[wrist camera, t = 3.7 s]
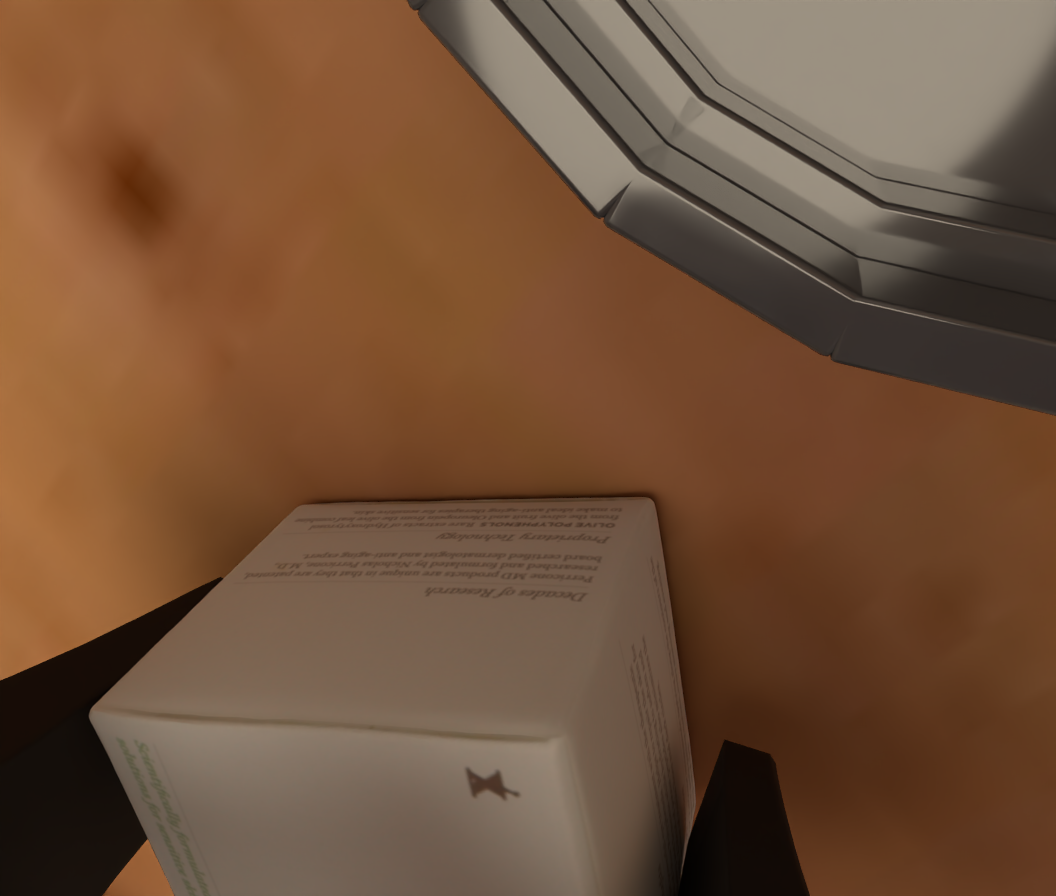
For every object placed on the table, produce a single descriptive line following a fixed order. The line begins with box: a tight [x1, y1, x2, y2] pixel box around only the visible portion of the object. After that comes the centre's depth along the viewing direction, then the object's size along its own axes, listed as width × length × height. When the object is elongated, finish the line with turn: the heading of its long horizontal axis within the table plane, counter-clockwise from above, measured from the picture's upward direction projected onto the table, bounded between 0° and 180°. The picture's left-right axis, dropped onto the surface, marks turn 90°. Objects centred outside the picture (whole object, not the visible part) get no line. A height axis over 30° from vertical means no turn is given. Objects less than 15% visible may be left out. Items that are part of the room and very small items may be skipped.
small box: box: [89, 497, 696, 896], centre depth 12 cm, size 6×6×5 cm
